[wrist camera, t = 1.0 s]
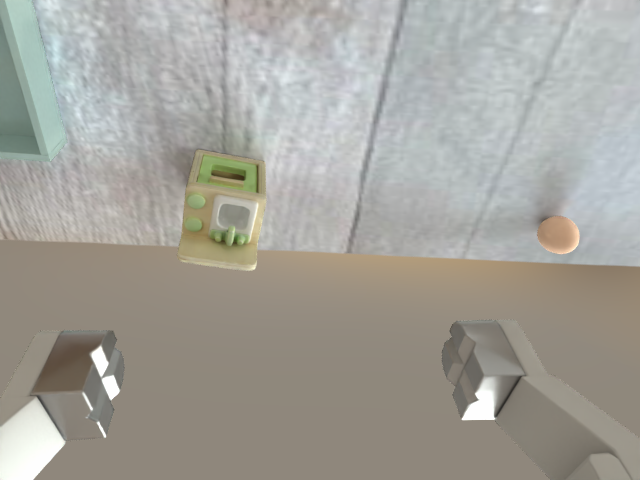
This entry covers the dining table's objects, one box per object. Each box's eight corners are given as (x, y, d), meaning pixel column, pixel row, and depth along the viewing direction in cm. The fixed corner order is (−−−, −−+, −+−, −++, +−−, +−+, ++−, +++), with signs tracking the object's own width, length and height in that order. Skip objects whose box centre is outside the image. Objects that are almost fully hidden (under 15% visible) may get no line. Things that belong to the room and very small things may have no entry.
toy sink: (268, 156, 53) (267, 218, 42) (258, 205, 57) (255, 273, 47) (196, 143, 51) (177, 204, 40) (191, 194, 55) (173, 262, 45)
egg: (572, 210, 62) (596, 235, 57) (554, 238, 65) (576, 263, 61) (540, 207, 61) (562, 232, 57) (524, 235, 64) (544, 261, 60)
